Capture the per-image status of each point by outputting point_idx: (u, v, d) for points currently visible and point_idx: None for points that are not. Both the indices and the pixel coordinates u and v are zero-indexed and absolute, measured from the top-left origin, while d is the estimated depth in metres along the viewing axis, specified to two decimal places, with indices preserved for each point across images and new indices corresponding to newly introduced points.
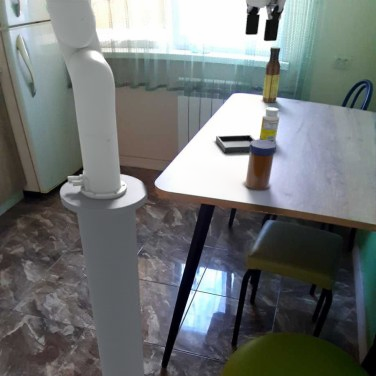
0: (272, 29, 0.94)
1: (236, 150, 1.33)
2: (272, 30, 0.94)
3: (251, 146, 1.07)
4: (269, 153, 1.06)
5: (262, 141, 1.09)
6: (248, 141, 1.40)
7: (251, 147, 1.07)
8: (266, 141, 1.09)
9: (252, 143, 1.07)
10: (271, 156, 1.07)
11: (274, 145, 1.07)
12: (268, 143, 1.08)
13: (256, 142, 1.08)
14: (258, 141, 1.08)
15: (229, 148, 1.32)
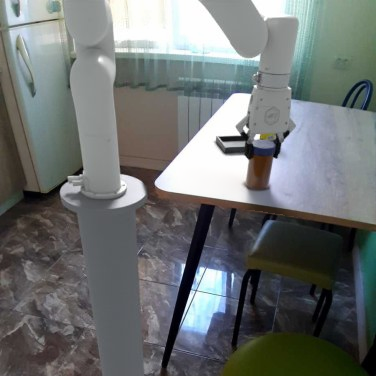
0: None
1: (236, 150, 1.33)
2: None
3: None
4: (269, 153, 1.06)
5: (262, 141, 1.09)
6: None
7: None
8: (266, 141, 1.09)
9: (252, 143, 1.07)
10: (271, 156, 1.07)
11: (274, 145, 1.07)
12: (268, 143, 1.08)
13: (256, 142, 1.08)
14: (258, 141, 1.08)
15: (229, 148, 1.32)
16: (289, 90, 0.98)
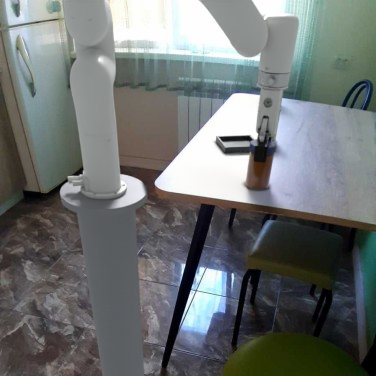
0: None
1: (236, 150, 1.33)
2: None
3: None
4: None
5: (256, 141, 1.08)
6: (248, 141, 1.40)
7: None
8: None
9: None
10: (271, 156, 1.07)
11: (270, 140, 1.09)
12: None
13: None
14: (255, 143, 1.07)
15: (229, 148, 1.32)
16: None
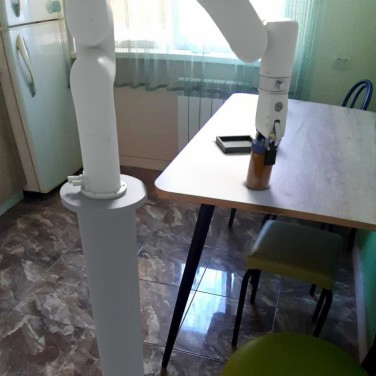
0: None
1: (236, 150, 1.33)
2: None
3: None
4: None
5: (258, 141, 1.07)
6: (248, 141, 1.40)
7: None
8: (257, 140, 1.08)
9: None
10: None
11: None
12: (262, 140, 1.08)
13: (262, 144, 1.06)
14: (259, 143, 1.06)
15: (229, 148, 1.32)
16: None
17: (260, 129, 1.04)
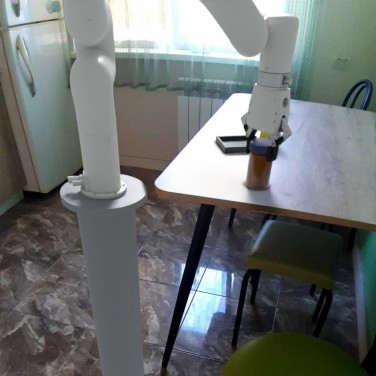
0: None
1: (236, 150, 1.33)
2: None
3: None
4: None
5: (267, 144, 1.06)
6: None
7: None
8: (263, 145, 1.05)
9: None
10: None
11: (252, 142, 1.06)
12: (259, 143, 1.06)
13: (270, 142, 1.07)
14: (270, 143, 1.06)
15: (229, 148, 1.32)
16: None
17: (260, 127, 1.03)
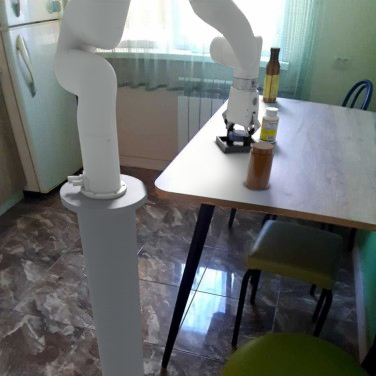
0: None
1: (236, 150, 1.33)
2: None
3: None
4: None
5: (242, 134, 1.33)
6: None
7: None
8: (240, 135, 1.33)
9: None
10: (271, 156, 1.07)
11: (230, 133, 1.34)
12: (236, 133, 1.34)
13: None
14: (245, 134, 1.34)
15: (229, 148, 1.32)
16: None
17: (236, 121, 1.31)
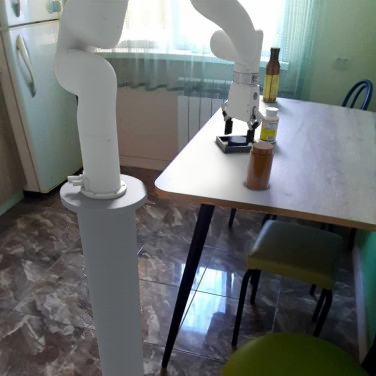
0: None
1: (236, 150, 1.33)
2: None
3: None
4: None
5: (241, 141, 1.35)
6: None
7: None
8: (239, 141, 1.34)
9: (245, 138, 1.37)
10: (271, 156, 1.07)
11: (229, 139, 1.35)
12: (235, 140, 1.35)
13: (244, 139, 1.36)
14: (244, 140, 1.35)
15: (229, 148, 1.32)
16: None
17: (237, 116, 1.30)
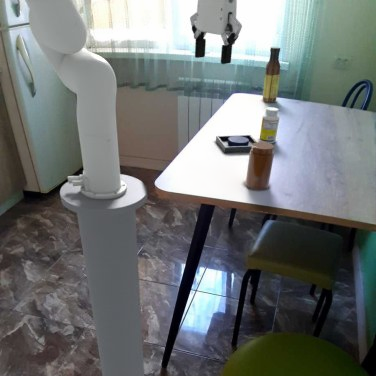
0: None
1: (236, 150, 1.33)
2: None
3: None
4: None
5: (241, 141, 1.35)
6: None
7: None
8: (239, 141, 1.34)
9: (245, 138, 1.37)
10: (271, 156, 1.07)
11: (229, 139, 1.35)
12: (235, 140, 1.35)
13: (244, 139, 1.36)
14: (244, 140, 1.35)
15: (229, 148, 1.32)
16: None
17: (208, 28, 1.03)
